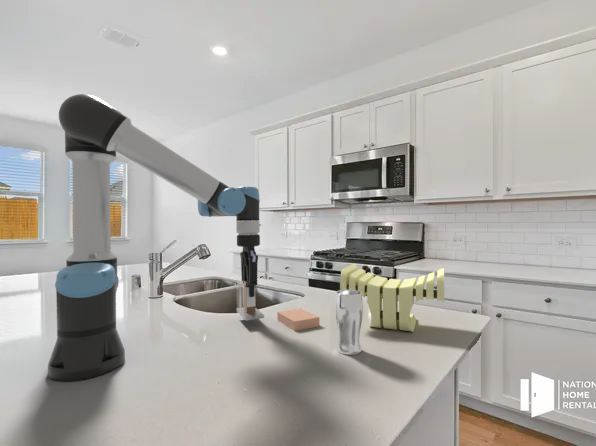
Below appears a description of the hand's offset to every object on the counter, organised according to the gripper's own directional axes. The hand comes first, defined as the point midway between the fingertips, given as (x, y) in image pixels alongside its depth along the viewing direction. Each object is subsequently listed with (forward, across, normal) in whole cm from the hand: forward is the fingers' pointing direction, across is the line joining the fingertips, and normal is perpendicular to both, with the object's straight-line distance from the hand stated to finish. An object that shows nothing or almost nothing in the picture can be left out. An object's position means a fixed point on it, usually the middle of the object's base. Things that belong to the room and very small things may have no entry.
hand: (249, 304), depth 109 cm
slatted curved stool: (+6, -22, -41) cm, 47 cm away
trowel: (+3, 0, 0) cm, 3 cm away
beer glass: (+6, -34, -17) cm, 38 cm away
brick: (+5, -2, -13) cm, 14 cm away
